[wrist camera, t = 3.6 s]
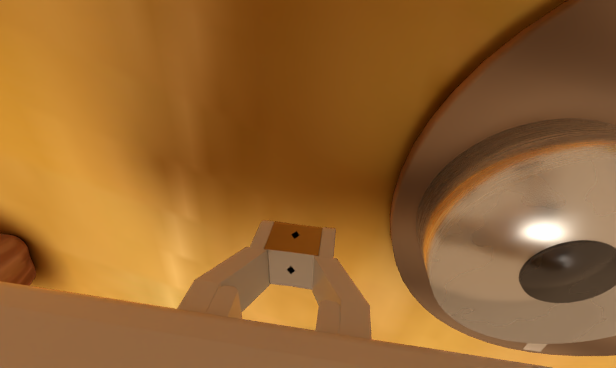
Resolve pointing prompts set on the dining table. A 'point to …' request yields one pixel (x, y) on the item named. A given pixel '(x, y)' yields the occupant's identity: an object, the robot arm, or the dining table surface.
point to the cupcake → (15, 261)
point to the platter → (507, 114)
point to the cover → (527, 233)
